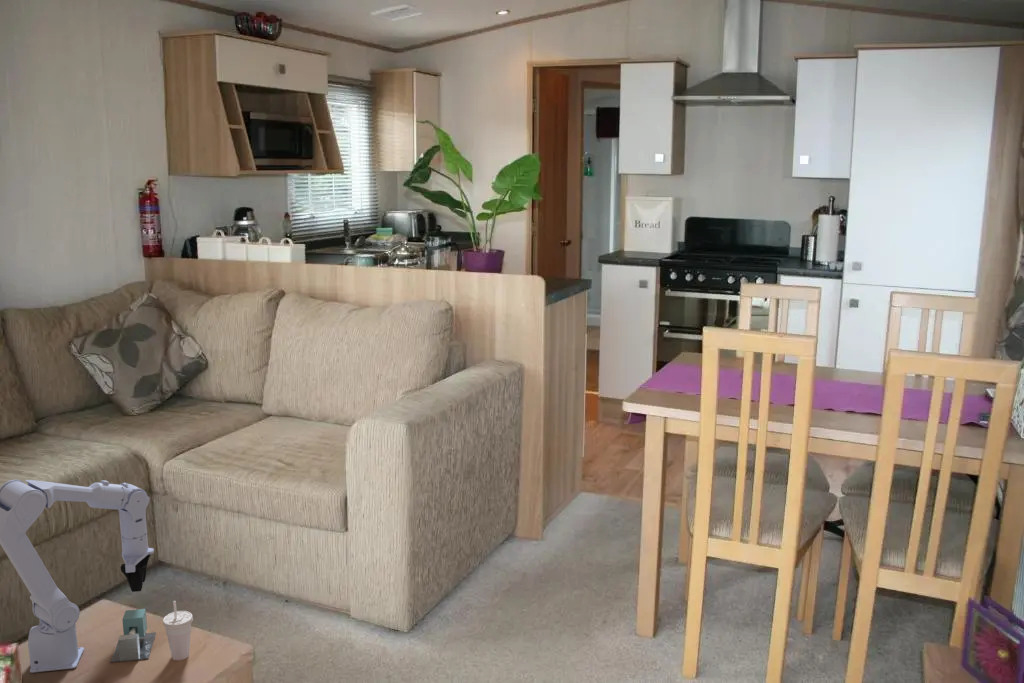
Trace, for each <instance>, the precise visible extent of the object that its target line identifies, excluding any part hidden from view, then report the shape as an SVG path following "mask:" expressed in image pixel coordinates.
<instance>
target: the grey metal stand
mask: <svg viewBox="0 0 1024 683" xmlns="http://www.w3.org/2000/svg"><path fill="white" fill-rule="evenodd" d="M136 630H137V626H133V627H132V628H131V630H130V633H129V634H128V635H124V634H121V635H119V637H118V640H117V643H116V646H115V649H114V651H113V655H112V657H111V659H110V663H111V662H115V663H125V662H133V660H135V661H142V660H141V659H144V660H149V658H150V655H151V651H152V649H151V648H153V644H154V641H155V638H156V636H157V632H156V631H155V632H147V633H145V636H144V637H139V634H135V632H136ZM155 635H156V636H155ZM124 661H125V662H124Z"/></svg>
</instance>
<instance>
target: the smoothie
mask: <svg viewBox="0 0 1024 683" xmlns="http://www.w3.org/2000/svg"><path fill="white" fill-rule="evenodd" d="M172 603H173V604H172V605H173V611H172V612H170V613H167V615H165V616H164V617H163V620H162V626H163V627H164V628H165V633H166V637H167V642H168V645H169V646H168V647H169V650H170V654H171V659H172V660H174V661H182V660H185V659H188V657H190V650H191V649H190V646H191V634H192V622H193V620H194V618H193V614H192V613H191V612H190V611H187V610H177V601H176V600H173V601H172Z"/></svg>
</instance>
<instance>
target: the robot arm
mask: <svg viewBox="0 0 1024 683" xmlns="http://www.w3.org/2000/svg"><path fill="white" fill-rule="evenodd" d="M25 482H26V483H27V484H26V483H25ZM150 500H151V498H150V496H148V493H147V492H146V491H145V490H144V489H143V488H141V487H138V486H136V485H134V484H131V483H128V482H122V483H120V484H116V483H110V481H109V480H105V479H104V480H103V479H101V480H100V482H96V481H95V482H94V483H91V484H90V485H89V486H82V485H76V484H75V485H74V484H67V483H59V482H52V481H44V480H36V479H35V480H34V479H24V481H22V480H21V479H11V480H7V481H6V482H4V483H3V484H1V486H0V546H1V548H2V549H3V551H4V552H5V554H6V556H7V557H8V559H9V561H10V563H11V564H12V567H14V569H15V571H16V572H17V574H18V576H19V577H20V578H21V581H22V582H23V584H24V585H25V587H26V589H27V590H28V592H29V594H30V596H29V599H30V601H31V603H32V604H31V605H32V613H33V615H34V616H35V617H36V618H38V619H39V623H38V625H35V626H32V627H31V628H30V630H29V632H28V633H29V634H28V636H27V637H28V639H27V648H28V656H29V665H30V669H29V673H31V674H32V673H41V672H42V673H43V672H51V671H60V670H62V671H63V670H70V669H76V668H77V666H78V664H79V662H80V660H81V658H82V655H83V653H84V651H85V647H83V646H80V647H79V646H78V644H79V642H78V635H77V626H76V623H77V622H78V621H79V618H80V612H81V611H80V608H79V606H78V605H77V604H76V603H73V602H71V601H70V600H69V599H68V597H67V596H66V595H65V594H64V593H63V592H62V591H61V590H60V589H59V588H58V586H57V584H56V582H55V581H54V579H53V578H52V576H51V575H50V572H49V571H48V569H47V567H46V565H45V564H44V562H43V560H42V559H41V557H40V556H39V553H38V552H37V550H36V549H35V547H34V545H33V543H32V542H31V540H30V539H29V537H28V535H27V534H26V532H27V531H28V530H29V528H30V527H32V526H33V524H34V523H35V521H36V520H37V519H38V518H39V517H40V515H42V513H43V511H45V509H50V508H51V507H52V505H53V504H54V503H55V502H81V503H82V502H86V504H87V505H88V507H90V508H92V509H104V510H105V509H106V510H115V511H116V510H117V511H118V516H119V529H120V540H121V542H120V543H121V551H122V552H121V558H122V559H123V562H124V563H122V564H121V566H120V571H121V573H122V574H123V575H124V576H125V578H126V580H127V582H128V585H129V588H130V590H131V592H132V593H134V592H141V591H142V589H143V585H144V584H143V583H145V581H146V577H147V569H148V564H149V559H150V557H151V555H153V554H154V552H155V550H154V547H149V542H148V540H149V539H148V529H147V517H146V515H147V507H148V506H149V503H150Z"/></svg>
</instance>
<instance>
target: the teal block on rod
mask: <svg viewBox="0 0 1024 683" xmlns="http://www.w3.org/2000/svg"><path fill="white" fill-rule="evenodd" d="M121 620H122V629H123V630H122V631H123V635H128V634H129V633H130V630H131V628H132V627H133V626H137V630H136V632H135V634H139V637H144V636H145V633H146V632H147V630H148V621H147V610H146V608H139V609H127V610H125V612H124V614H123V616H122V619H121Z"/></svg>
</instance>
